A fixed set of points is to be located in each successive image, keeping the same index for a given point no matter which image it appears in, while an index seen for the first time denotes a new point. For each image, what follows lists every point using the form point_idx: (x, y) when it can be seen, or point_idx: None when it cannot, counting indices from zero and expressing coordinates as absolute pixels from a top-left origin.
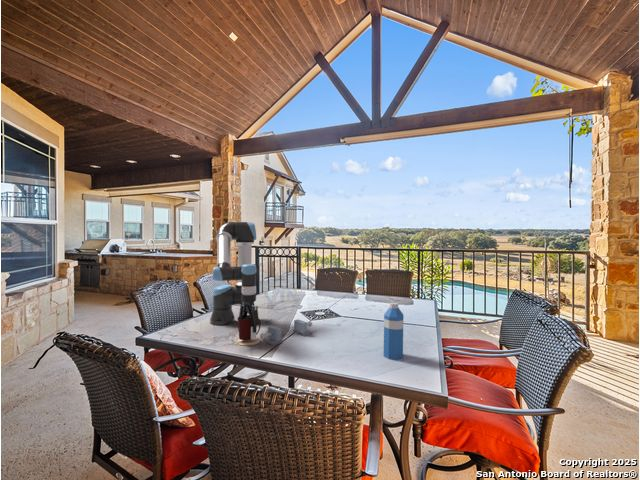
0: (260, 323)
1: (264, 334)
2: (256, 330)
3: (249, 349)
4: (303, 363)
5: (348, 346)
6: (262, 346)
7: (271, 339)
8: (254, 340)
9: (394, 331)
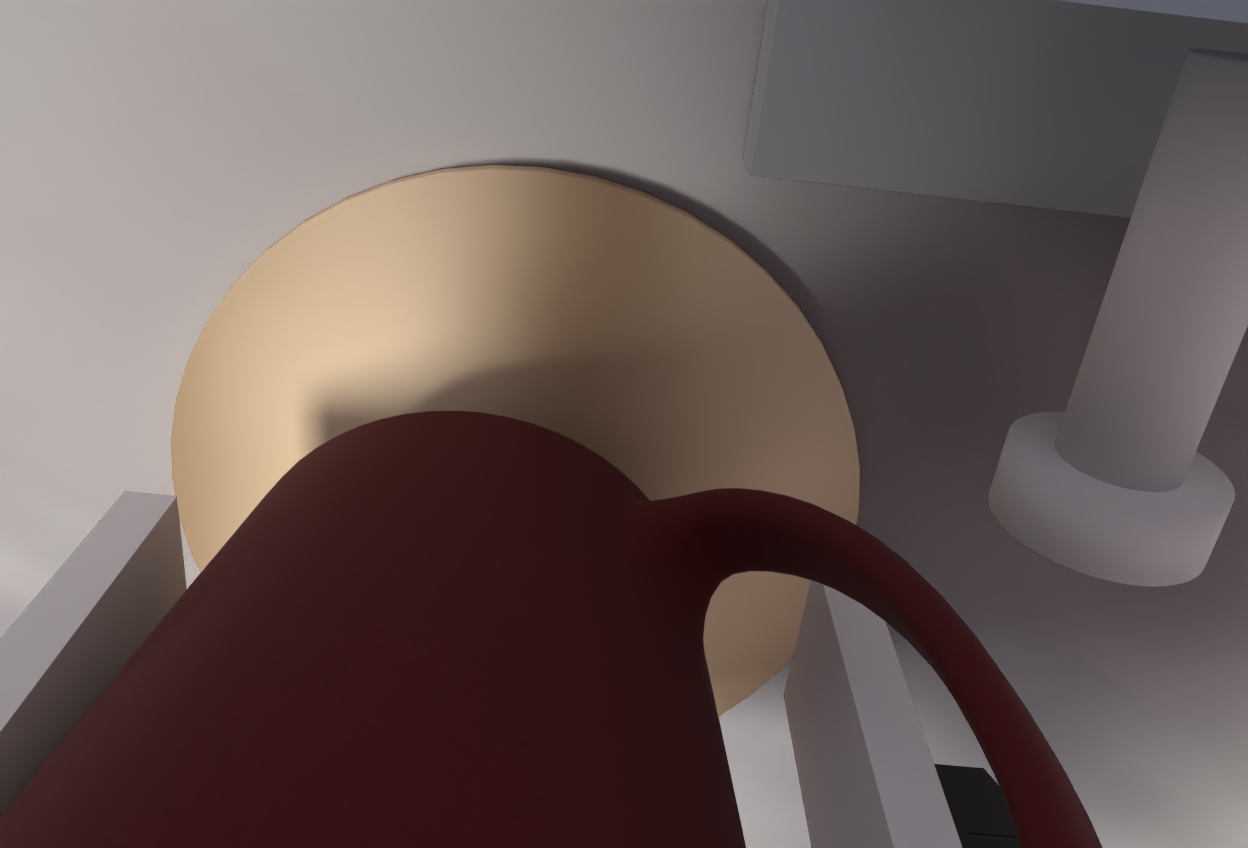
0: (1072, 794)
1: (1162, 445)
2: None
3: (975, 755)
4: None
5: None
6: None
7: (1163, 37)
8: (619, 384)
9: None
